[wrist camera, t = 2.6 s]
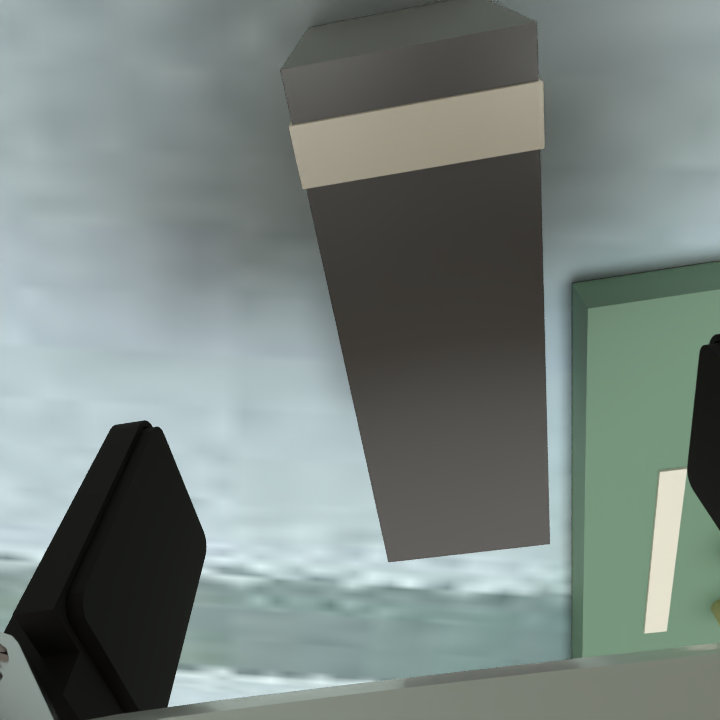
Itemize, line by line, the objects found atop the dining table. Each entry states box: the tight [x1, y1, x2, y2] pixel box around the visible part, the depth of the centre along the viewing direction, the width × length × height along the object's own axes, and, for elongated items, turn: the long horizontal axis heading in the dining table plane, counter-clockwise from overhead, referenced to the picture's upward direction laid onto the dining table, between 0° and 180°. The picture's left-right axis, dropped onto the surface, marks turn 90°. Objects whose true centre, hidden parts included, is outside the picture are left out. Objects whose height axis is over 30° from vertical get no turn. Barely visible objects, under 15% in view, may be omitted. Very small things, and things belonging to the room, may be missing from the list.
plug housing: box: [280, 0, 550, 562], centre depth 15 cm, size 11×4×6 cm, turn 10°
